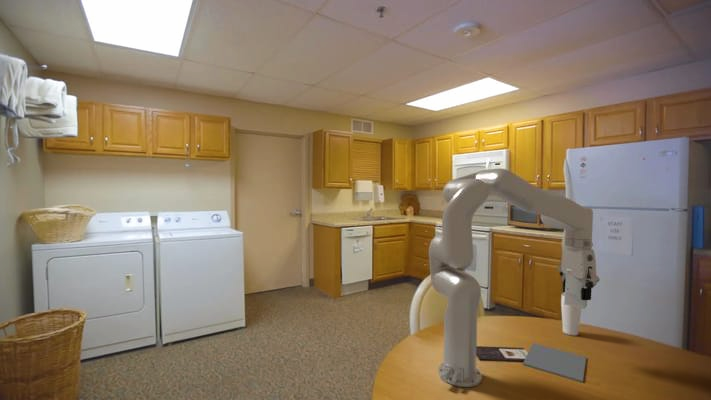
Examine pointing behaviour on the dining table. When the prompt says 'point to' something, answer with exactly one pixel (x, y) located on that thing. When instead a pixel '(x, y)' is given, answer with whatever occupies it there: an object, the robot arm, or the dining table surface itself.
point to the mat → (556, 362)
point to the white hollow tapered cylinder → (570, 318)
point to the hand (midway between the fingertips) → (576, 295)
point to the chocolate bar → (501, 354)
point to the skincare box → (574, 291)
